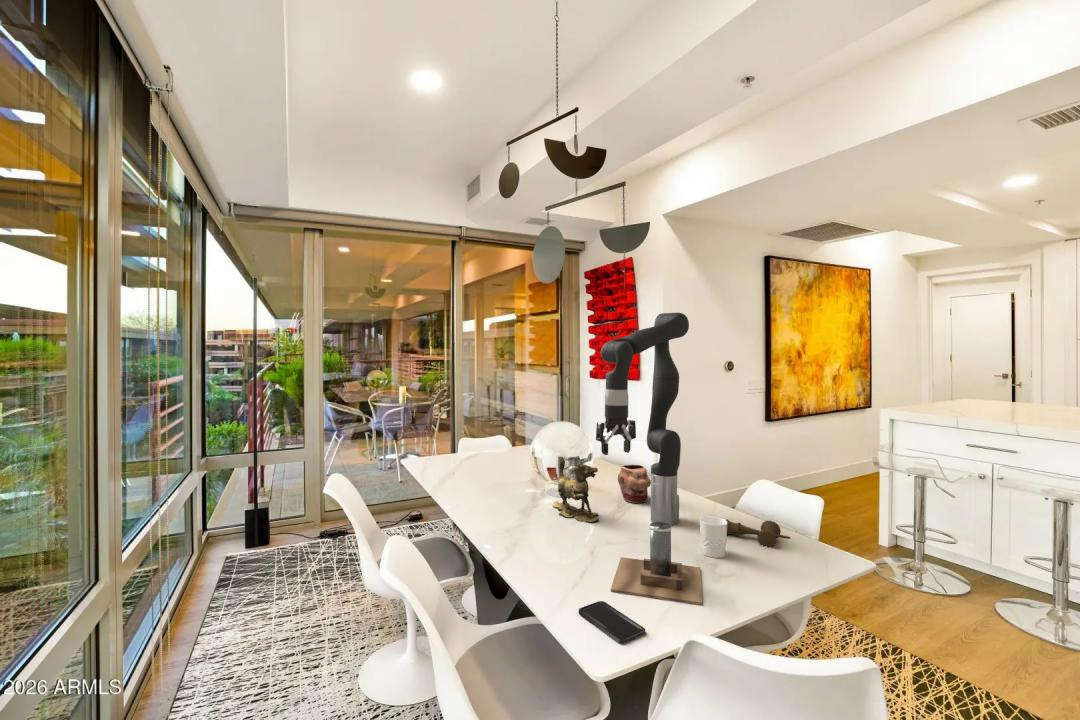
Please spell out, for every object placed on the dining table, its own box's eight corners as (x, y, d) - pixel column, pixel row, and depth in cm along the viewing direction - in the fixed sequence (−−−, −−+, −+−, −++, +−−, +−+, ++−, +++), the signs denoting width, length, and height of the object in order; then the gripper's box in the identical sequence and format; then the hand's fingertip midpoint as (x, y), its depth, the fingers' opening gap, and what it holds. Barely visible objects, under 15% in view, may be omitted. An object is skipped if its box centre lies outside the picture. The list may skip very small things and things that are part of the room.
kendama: (727, 530, 165) (792, 542, 154) (721, 540, 157) (789, 553, 146) (727, 513, 165) (792, 523, 154) (720, 522, 157) (788, 533, 146)
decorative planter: (607, 494, 206) (608, 461, 205) (632, 491, 210) (632, 459, 210) (633, 508, 187) (633, 472, 187) (659, 504, 191) (659, 470, 191)
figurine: (580, 526, 167) (580, 468, 167) (542, 506, 188) (542, 455, 188) (608, 519, 174) (609, 464, 174) (568, 501, 195) (569, 451, 195)
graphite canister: (661, 571, 131) (661, 520, 131) (675, 579, 126) (675, 527, 126) (645, 575, 128) (645, 524, 128) (659, 584, 124) (659, 530, 123)
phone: (602, 600, 115) (647, 630, 103) (602, 604, 115) (647, 635, 103) (576, 609, 111) (620, 642, 99) (576, 614, 111) (620, 647, 99)
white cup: (726, 550, 147) (726, 517, 147) (727, 560, 140) (728, 526, 140) (699, 546, 150) (699, 514, 150) (699, 556, 142) (699, 523, 142)
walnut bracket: (610, 591, 121) (610, 579, 121) (620, 559, 140) (620, 548, 140) (702, 605, 115) (702, 592, 115) (699, 569, 134) (699, 558, 134)
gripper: (605, 405, 147) (604, 457, 148) (641, 403, 154) (641, 453, 154) (591, 403, 154) (591, 453, 154) (626, 401, 161) (626, 449, 161)
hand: (616, 453), depth 154 cm, fingers open, 8 cm apart
